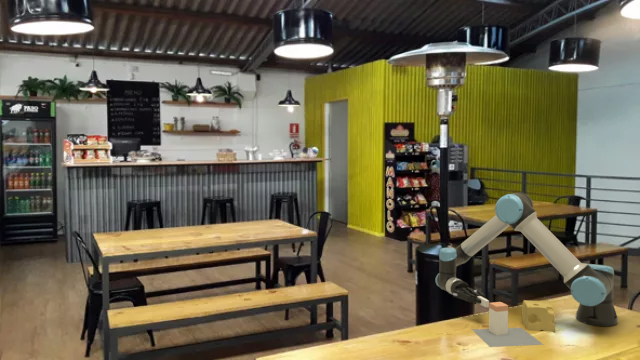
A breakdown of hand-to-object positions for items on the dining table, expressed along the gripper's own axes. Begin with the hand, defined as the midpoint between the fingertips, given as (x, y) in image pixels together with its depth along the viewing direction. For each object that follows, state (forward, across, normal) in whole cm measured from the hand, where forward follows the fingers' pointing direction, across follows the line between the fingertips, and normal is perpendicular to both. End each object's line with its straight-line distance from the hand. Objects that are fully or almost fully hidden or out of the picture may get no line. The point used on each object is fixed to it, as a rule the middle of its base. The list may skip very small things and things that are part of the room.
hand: (487, 304), depth 212 cm
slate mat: (+13, 0, -9) cm, 16 cm away
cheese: (+6, -19, -10) cm, 22 cm away
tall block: (+8, 0, -9) cm, 12 cm away
